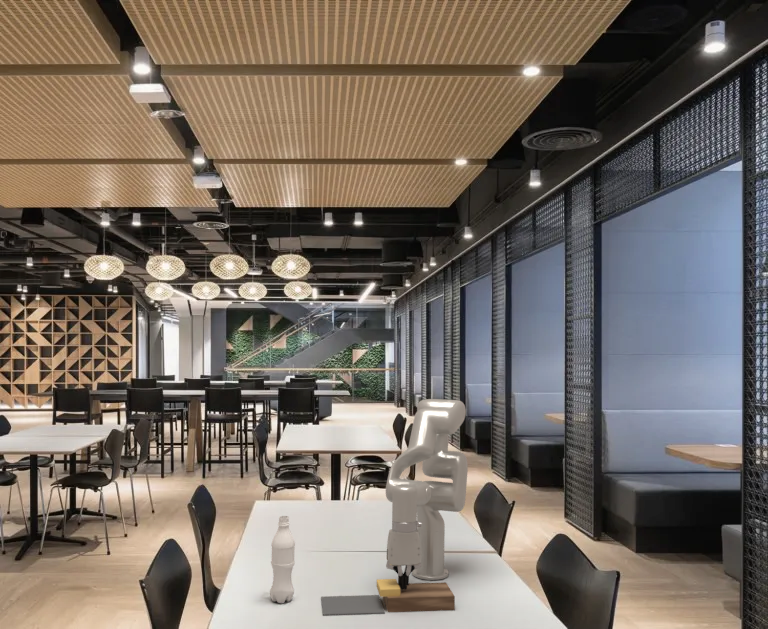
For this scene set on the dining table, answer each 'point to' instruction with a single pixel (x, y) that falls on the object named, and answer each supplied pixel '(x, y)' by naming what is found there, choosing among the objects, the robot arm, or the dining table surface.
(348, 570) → the dining table surface
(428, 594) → the brown wooden block
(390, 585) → the yellow rectangular block
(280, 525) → the water bottle
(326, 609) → the mat
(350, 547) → the dining table surface
